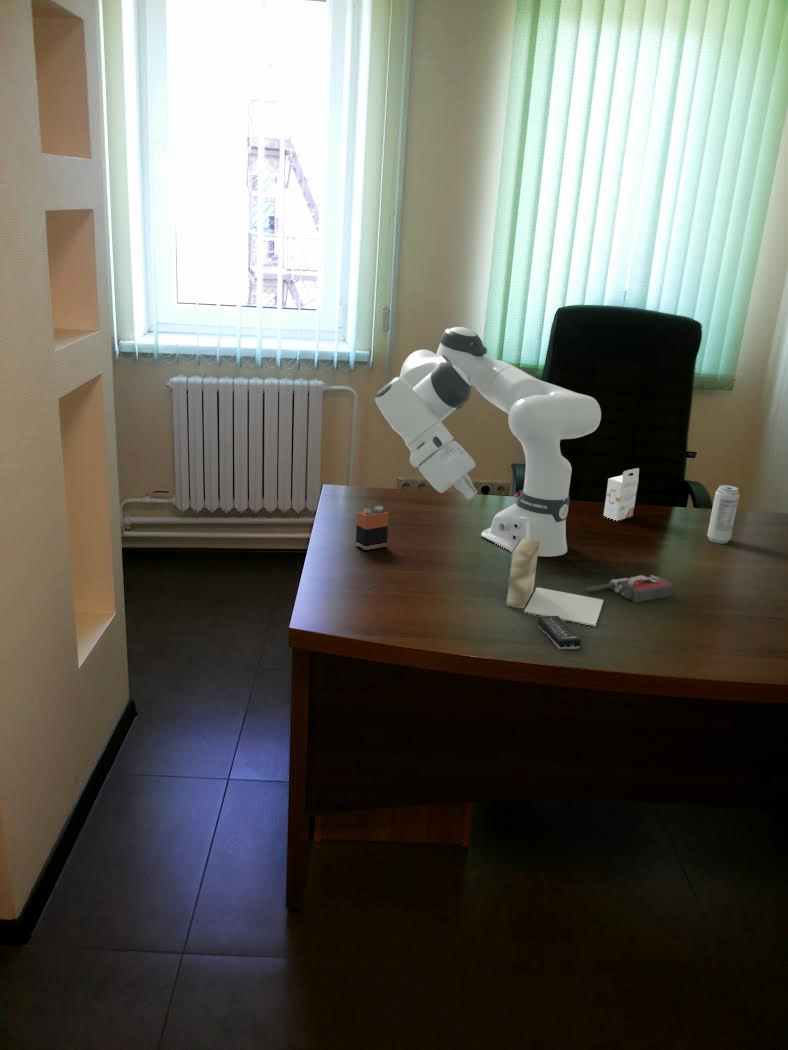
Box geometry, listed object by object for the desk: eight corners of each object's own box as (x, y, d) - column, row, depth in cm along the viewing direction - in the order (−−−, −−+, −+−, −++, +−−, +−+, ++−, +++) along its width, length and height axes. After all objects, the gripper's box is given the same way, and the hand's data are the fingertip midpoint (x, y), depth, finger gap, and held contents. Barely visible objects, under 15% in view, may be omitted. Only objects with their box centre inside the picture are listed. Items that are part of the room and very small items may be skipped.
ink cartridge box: (618, 512, 245) (626, 464, 240) (633, 516, 242) (641, 467, 237) (601, 517, 239) (609, 467, 235) (616, 521, 236) (624, 471, 231)
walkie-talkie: (649, 582, 193) (582, 593, 184) (652, 564, 192) (584, 575, 183) (677, 596, 186) (608, 609, 177) (680, 578, 185) (611, 589, 175)
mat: (524, 613, 171) (524, 610, 171) (536, 589, 183) (537, 587, 183) (595, 627, 166) (595, 624, 166) (603, 602, 179) (603, 599, 179)
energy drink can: (726, 537, 228) (736, 485, 223) (732, 545, 222) (743, 491, 218) (703, 535, 229) (714, 483, 224) (709, 543, 223) (720, 489, 218)
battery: (387, 547, 203) (390, 508, 200) (364, 552, 199) (366, 512, 196) (377, 542, 206) (379, 503, 203) (354, 546, 202) (356, 507, 199)
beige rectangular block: (505, 605, 174) (511, 552, 170) (515, 589, 183) (521, 538, 179) (523, 609, 173) (530, 555, 169) (532, 592, 182) (539, 541, 178)
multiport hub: (556, 625, 167) (558, 615, 166) (580, 650, 157) (582, 639, 156) (536, 626, 166) (537, 616, 165) (559, 651, 156) (560, 640, 155)
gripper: (436, 445, 185) (474, 493, 185) (406, 463, 167) (449, 517, 167) (456, 427, 183) (495, 477, 183) (429, 444, 164) (472, 499, 164)
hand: (473, 496), depth 175 cm, fingers closed
